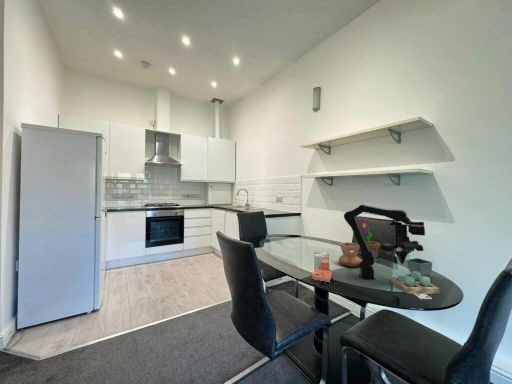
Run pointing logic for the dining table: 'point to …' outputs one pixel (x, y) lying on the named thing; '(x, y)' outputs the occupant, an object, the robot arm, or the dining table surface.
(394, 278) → the board
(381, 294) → the dining table surface
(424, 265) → the flower pot
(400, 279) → the button
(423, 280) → the button
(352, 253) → the ceramic jug
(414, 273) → the button
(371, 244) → the flowerpot
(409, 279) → the button
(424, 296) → the card
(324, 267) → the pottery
